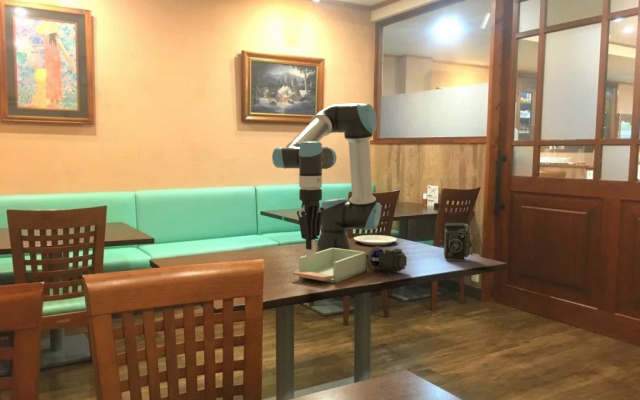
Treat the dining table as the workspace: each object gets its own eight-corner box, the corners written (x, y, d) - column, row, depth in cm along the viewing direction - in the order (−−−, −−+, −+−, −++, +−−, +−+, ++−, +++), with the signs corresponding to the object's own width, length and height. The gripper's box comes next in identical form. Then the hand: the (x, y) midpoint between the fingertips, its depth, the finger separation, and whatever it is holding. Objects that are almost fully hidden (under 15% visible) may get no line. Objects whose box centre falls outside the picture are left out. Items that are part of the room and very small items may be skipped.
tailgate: (303, 273, 178) (292, 275, 172) (303, 270, 178) (292, 272, 172) (333, 278, 171) (323, 280, 166) (334, 275, 171) (323, 277, 166)
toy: (377, 244, 195) (410, 250, 184) (376, 266, 196) (409, 273, 185) (363, 247, 189) (396, 253, 178) (362, 270, 189) (395, 277, 179)
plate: (387, 248, 233) (387, 243, 233) (346, 244, 244) (346, 239, 243) (402, 241, 252) (402, 237, 251) (364, 238, 262) (364, 233, 261)
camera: (471, 263, 203) (473, 226, 202) (444, 261, 205) (445, 225, 204) (469, 257, 213) (470, 222, 212) (443, 256, 215) (444, 221, 214)
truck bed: (299, 276, 178) (299, 257, 178) (332, 265, 196) (332, 247, 196) (335, 283, 170) (335, 262, 169) (366, 270, 188) (366, 252, 188)
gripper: (308, 190, 160) (309, 263, 163) (330, 187, 171) (330, 256, 174) (289, 189, 164) (290, 260, 167) (312, 186, 175) (312, 253, 178)
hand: (310, 258), depth 170 cm, fingers closed
